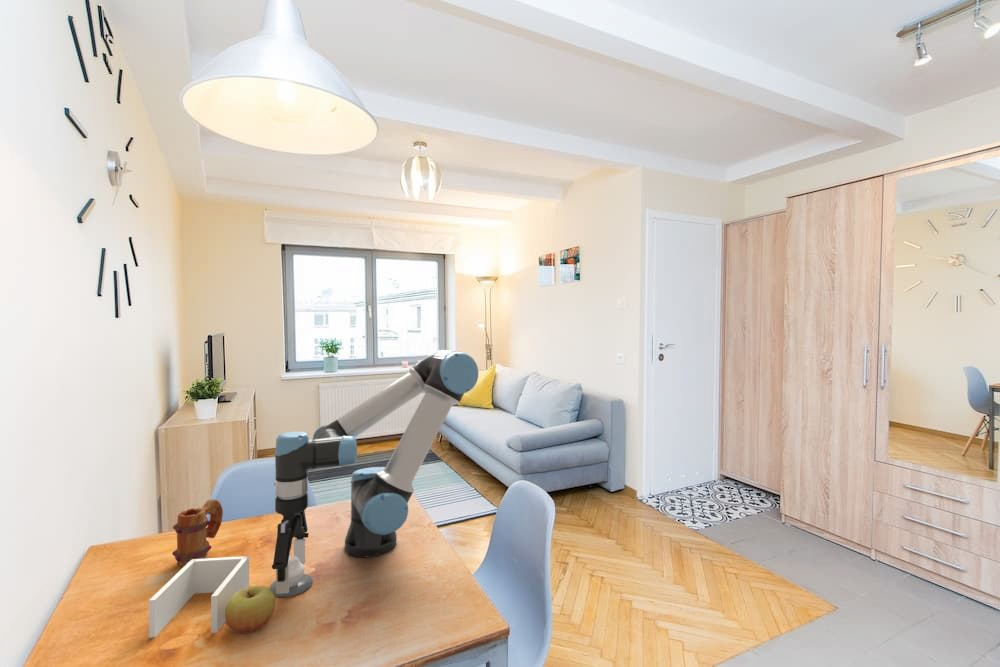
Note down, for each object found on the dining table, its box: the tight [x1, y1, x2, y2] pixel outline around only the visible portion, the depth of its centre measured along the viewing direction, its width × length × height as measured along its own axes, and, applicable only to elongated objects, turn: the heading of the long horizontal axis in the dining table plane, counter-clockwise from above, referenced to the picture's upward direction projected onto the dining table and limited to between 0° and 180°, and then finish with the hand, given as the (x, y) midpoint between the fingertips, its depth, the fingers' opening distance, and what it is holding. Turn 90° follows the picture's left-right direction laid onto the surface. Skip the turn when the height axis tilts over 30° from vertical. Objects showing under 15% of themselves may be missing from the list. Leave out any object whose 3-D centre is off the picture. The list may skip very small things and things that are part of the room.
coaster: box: [268, 573, 313, 599], centre depth 117 cm, size 10×10×1 cm
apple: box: [225, 585, 276, 634], centre depth 101 cm, size 10×10×8 cm
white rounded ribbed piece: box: [288, 555, 306, 587], centre depth 116 cm, size 6×6×7 cm
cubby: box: [148, 555, 250, 639], centre depth 106 cm, size 13×17×8 cm
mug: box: [172, 498, 224, 567], centre depth 130 cm, size 15×8×15 cm, turn 168°
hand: (291, 577), depth 116 cm, fingers open, 13 cm apart
